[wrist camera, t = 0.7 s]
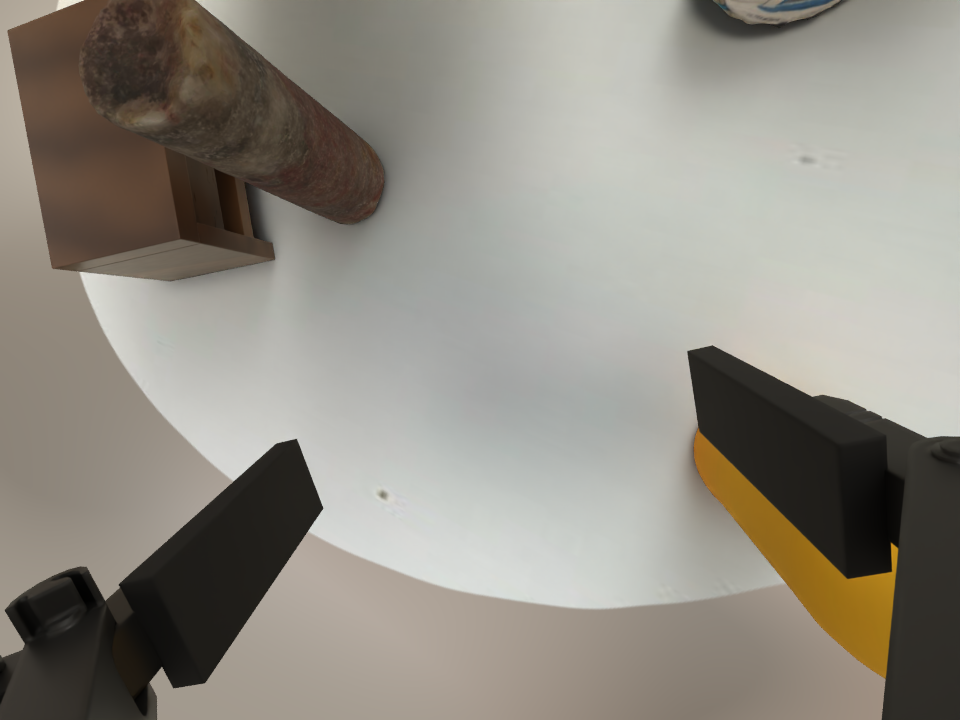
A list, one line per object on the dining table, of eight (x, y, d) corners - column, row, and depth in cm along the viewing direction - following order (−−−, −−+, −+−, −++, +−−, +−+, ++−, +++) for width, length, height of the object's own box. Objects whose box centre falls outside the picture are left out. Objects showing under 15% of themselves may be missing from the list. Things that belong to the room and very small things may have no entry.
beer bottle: (664, 443, 37) (957, 843, 8) (758, 364, 35) (1543, 534, 7) (749, 530, 36) (1395, 1298, 8) (851, 453, 34) (2213, 1094, 6)
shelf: (138, 97, 45) (6, 30, 34) (243, 64, 42) (135, -21, 32) (170, 281, 45) (51, 268, 35) (275, 259, 43) (180, 239, 32)
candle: (295, 182, 42) (47, 57, 22) (347, 120, 40) (130, -73, 21) (349, 242, 41) (141, 167, 22) (404, 181, 40) (235, 41, 20)
